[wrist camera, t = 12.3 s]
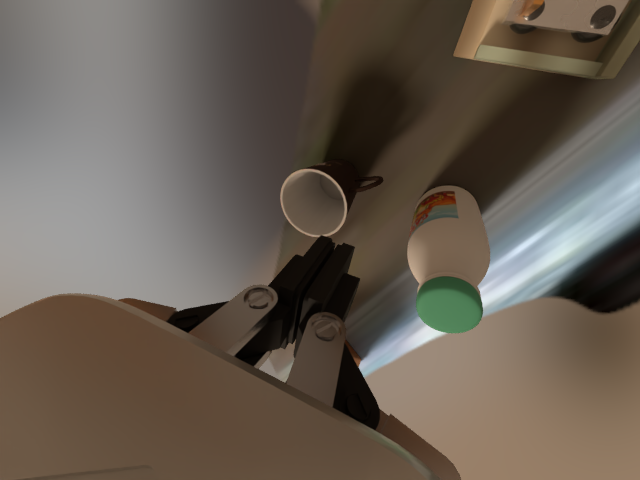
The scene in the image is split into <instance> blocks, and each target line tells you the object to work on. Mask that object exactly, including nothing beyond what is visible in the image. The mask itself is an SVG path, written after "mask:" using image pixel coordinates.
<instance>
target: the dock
mask: <svg viewBox="0 0 640 480" xmlns="http://www.w3.org/2000/svg"><path fill="white" fill-rule="evenodd" d="M510 2H511V0H473V2H472V5H471V8H470V10H469V13H468V16H467V19H466V22H465V24H464V27H463V30H462V33H461V35H460V38H459V41H458V44H457V46H456V49H455V52H454V55H453V56H455V57H461V58H467V59H473V60H479V61H485V62H491V63H497V64H504V65H510V66H516V67H522V68H528V69H534V70H540V71H546V72H552V73H558V74H564V75H570V76H576V77H582V78H589V79H614V78H615V76H616V75H617V73H618V72H619V70H620V69H621V67H622V66H623V64H624V63H625V61H626V60H627V58H628V57H629V55H630V54H631V52H632V51H633V49H634V48H635V46H636V45H637V43H638V42H639V40H640V0H629V1H628V3H627V5H626V6H625V8H624V9H623V11H622V15H621V18H620V20H619V21H618V23H617V25H616V26H615V27H614V28H613V29H612V30H611V31H610V33H609V34H608V35H606V36H604V37H602V38H600V39H598V40H596V41H593V42H589V43H580V42H577V41H576V40H574V39H573V37H572V36H571V33H570V32H562V31H554V30H547V29H539V28H537V29H536V30H534V31H532V32H530V33H527V34H517V33H514V32H513V31H512V30H511V29H510V26H507V25H501V24H502V21H503V19H504V17H505V14H506V12H507V9H508V7H509V5H510Z"/></svg>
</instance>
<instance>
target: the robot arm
mask: <svg viewBox="0 0 640 480" xmlns="http://www.w3.org/2000/svg"><path fill="white" fill-rule="evenodd" d="M334 248H335V243H333V242H332V239H331V238H328V237H326V236H323V235H320V237H319V238H318V239H317V240H316V241H315V243H314V244H313V245H312V246H311V248H310V249H309V250H308V251H307V252H306V254H305V255H304V256H303V257H302V256H300V255H295V256H294V257H293V258H292V259H291V260H290V261H289V262H288V264H287V265H286V266H285V267H284V268H283V269H282V271H281V272H280V273H279V274H278V275H277V276H276V277H275V279H274V280H273V281H272V282H271V283H270V284H269V285H268V286H265V285H253V286H250V287H248V288H246V289H244V290H243V291H242V292H241V293H239V294H238V295H237V296H235V297H234V298H233V299H232V300H230V301H227V302H222V303H216V304H211V305H205V306H200V307H194V308H188V309H184V310H182V311H179V312H178V311H177V310H176V308H173V307H168V306H164V305H160V304H155V303H150V302H146V301H141V300H137V299H131V298H125V299H120V300H114V299H111V298H107V297H103V296H97V295H89V294H59V295H55V296H50V297H47V298H44V299H41V300H39V301H36V302H34V303H31V304H29V305H27V306H24V307H22V308H20V309H18V310H16V311H14V312H12V313H10V314H8V315H6V316H4V317H2V318H0V480H461V477H460V475H459V473H458V471H457V469H456V468H455V466H454V465H453V463H452V462H451V461H450V460H449V459H448V458H447V457H446V456H444V455H443V454H442V453H440V452H439V451H438V450H436V449H435V448H434V447H433V446H431V445H430V444H429V443H427V442H426V441H425V440H424V439H422V438H421V437H420V436H418V435H417V434H416V433H415V432H413V431H412V430H411V429H409V428H408V427H407V426H406V425H404V424H403V423H402V422H400V421H399V420H398V419H397V418H395V417H394V416H393V415H391V414H390V415H389V416H388V415H387V414H385V413H384V412H383V411H382V410H380V409H379V407H378V404H377V402H376V399H375V398H374V396H373V394H372V392H371V390H370V388H369V387H368V384H367V383H366V381H365V379H364V377H363V375H362V373H361V371H360V370H359V368H358V366H357V364H356V362H355V360H354V358H353V357H352V355H351V353H350V351H349V349H348V347H347V345H346V344H345V337H346V327H345V324H344V322H345V319H346V317H347V314H348V312H349V310H350V307H351V305H352V302H353V299H354V297H355V294H356V291H357V288H358V285H359V281H360V278H357V277H354V276H352V275H349V274H347V273H348V269H349V266H350V262H351V259H352V255H353V252H354V248H355V247H354V246H351V245H348V244H345V243H343V244H342V245H339V244H338V245H337V247H336V248H335V250H334ZM295 339H296V343H295V349H294V358H295V360H294V362H293V365H292V368H291V371H290V374H289V377H288V380H287V382H286V383H284V382H282V381H280V380H278V379H276V378H275V377H273V376H271V375H269V374H267V373H265V372H263V371H261V370H259V368H260V367H261V365H262V364H263V363H264V362H265V361H266V360H267V359H268V357H269V356H270V355H271V353H272V350H275V349H279V348H280V347H281V348H283V349H285V348H286V346H287V345H288V343H291V344H293V343H294V341H295Z"/></svg>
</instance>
